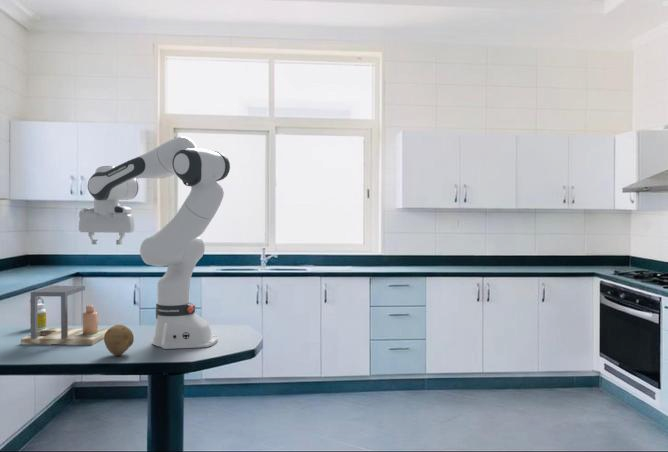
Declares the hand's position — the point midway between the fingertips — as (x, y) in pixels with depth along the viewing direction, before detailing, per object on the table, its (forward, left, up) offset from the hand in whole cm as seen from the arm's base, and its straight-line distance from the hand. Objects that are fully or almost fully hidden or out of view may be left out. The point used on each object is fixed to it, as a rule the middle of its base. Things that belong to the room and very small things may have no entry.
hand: (106, 244), depth 199 cm
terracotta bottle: (+2, +11, -32) cm, 34 cm away
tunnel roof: (+13, +11, -32) cm, 36 cm away
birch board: (+10, +11, -34) cm, 37 cm away
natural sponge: (-17, +31, -34) cm, 49 cm away
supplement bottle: (+29, -5, -34) cm, 45 cm away
